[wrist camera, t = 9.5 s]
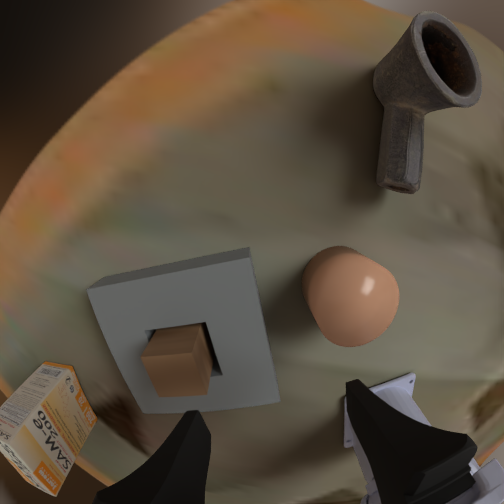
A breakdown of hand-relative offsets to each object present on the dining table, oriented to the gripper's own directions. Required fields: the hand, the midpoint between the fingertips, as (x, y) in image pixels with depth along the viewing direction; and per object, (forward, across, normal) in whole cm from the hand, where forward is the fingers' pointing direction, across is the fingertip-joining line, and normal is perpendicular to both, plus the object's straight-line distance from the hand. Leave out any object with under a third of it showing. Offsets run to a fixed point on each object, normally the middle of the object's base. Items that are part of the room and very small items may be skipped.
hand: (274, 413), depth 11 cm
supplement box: (+10, +23, +5) cm, 26 cm away
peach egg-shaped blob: (+10, -6, -2) cm, 12 cm away
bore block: (+10, +6, 0) cm, 11 cm away
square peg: (+10, +6, 0) cm, 11 cm away
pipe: (+10, -14, -14) cm, 22 cm away
